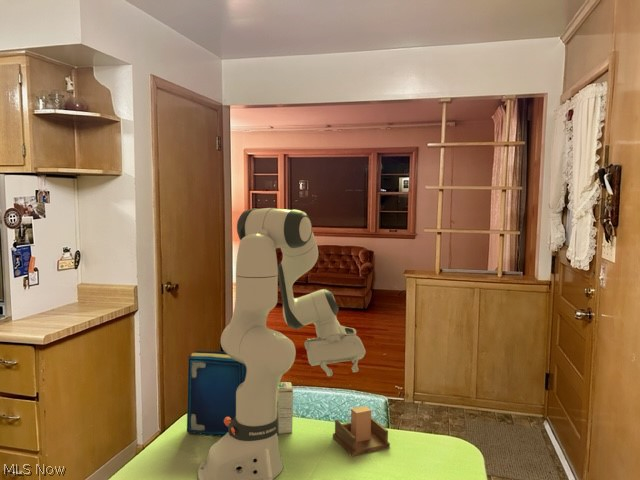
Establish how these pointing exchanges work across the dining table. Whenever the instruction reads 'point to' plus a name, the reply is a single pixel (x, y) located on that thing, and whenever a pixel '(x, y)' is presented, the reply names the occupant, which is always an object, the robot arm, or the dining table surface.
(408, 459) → the dining table surface
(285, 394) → the syrup box
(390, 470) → the dining table surface
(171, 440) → the dining table surface
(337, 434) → the walnut slot rack
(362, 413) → the terracotta block
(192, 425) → the book
